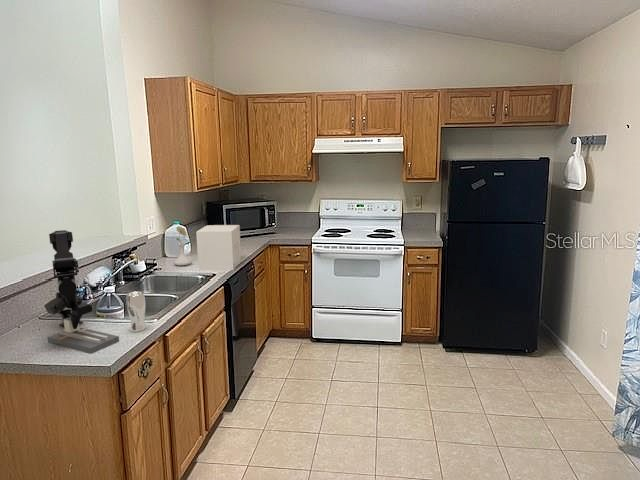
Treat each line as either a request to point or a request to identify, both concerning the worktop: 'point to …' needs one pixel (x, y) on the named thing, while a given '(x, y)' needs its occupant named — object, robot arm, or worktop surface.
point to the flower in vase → (182, 250)
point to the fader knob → (69, 326)
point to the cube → (218, 247)
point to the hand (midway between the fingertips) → (72, 328)
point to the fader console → (84, 340)
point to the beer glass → (136, 310)
